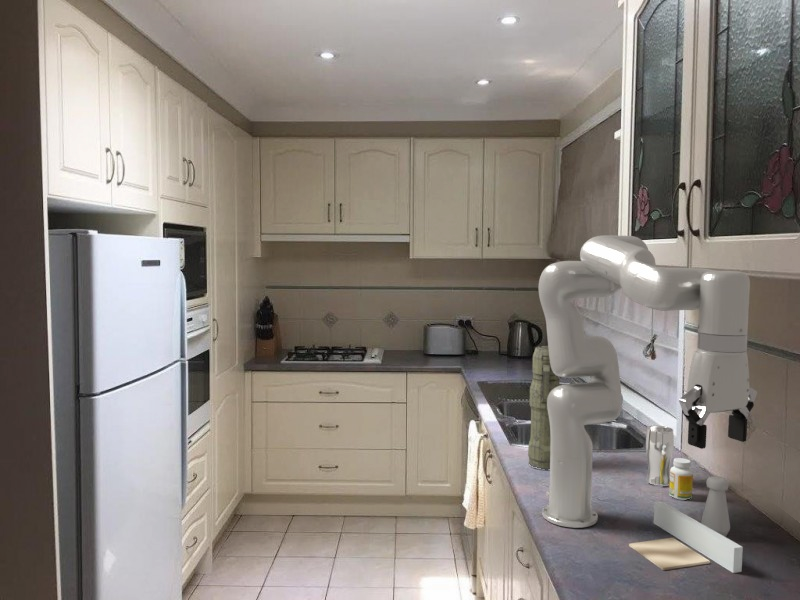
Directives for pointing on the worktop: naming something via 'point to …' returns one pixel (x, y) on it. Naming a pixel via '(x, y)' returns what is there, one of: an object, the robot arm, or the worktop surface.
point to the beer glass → (659, 454)
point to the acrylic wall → (699, 537)
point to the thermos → (541, 408)
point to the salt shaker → (716, 506)
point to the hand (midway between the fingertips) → (717, 442)
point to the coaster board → (669, 553)
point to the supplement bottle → (681, 479)
